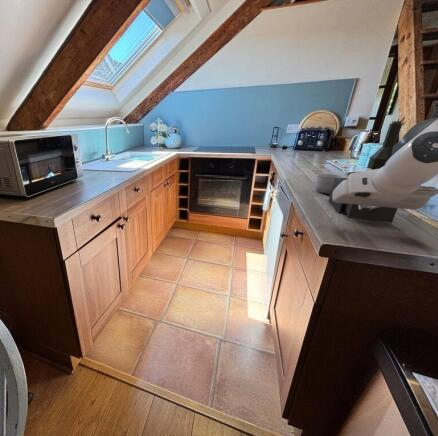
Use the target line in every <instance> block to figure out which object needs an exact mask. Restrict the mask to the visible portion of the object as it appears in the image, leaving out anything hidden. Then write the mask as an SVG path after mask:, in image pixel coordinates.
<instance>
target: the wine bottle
mask: <svg viewBox="0 0 438 436" xmlns="http://www.w3.org/2000/svg"><path fill="white" fill-rule="evenodd" d="M402 126H403V123H402V121H400V120H399V121H398V120H396V121H394V120H392V122H391V123H389V126H388V129H387V131H386V135H385V137H384V140H383V143H382V146H381V147H380V148H378V150H377V151H375V152H374V153H373V154H372V155H371V156H370V157H369V160H368V163H367V166H366V169H365V171H371V170H375V169H380V168H381V167H383V166H385V164H386V162H387V161H388V160H389V158H390V157H391V156H392V150H393V147H394V146H395V145H396V144H397V142H398V141H397V140H398V138H399V135H400V132H401V129H402Z"/></svg>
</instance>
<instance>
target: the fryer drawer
mask: <svg viewBox="0 0 438 436" xmlns="http://www.w3.org/2000/svg"><path fill="white" fill-rule="evenodd" d="M343 209H344V210H345V212H346V213H347V215H346V218H348V219H353V220H364V221H372V222H373V221H374V222H381V223H382V222H383V223H393V221H394V219H395V216H396V213H397V211H398V210H399V208H390V207H379V208H374V209H372V210H371V211H370V210H359V205H356V204H345V203H344V206H343Z"/></svg>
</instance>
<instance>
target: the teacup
mask: <svg viewBox="0 0 438 436" xmlns="http://www.w3.org/2000/svg"><path fill="white" fill-rule="evenodd" d="M335 178H346V179H348V177H347V176H346V175H343V174H334V173H317V174H316V177H315V181H314V188H315V189H316V190H317V192H319V193H322V194H328V195H330V194H331V190H332V187H333V183H334V180H335Z"/></svg>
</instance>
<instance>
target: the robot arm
mask: <svg viewBox="0 0 438 436" xmlns="http://www.w3.org/2000/svg"><path fill="white" fill-rule="evenodd" d="M437 175H438V117H432V118H429V119H425V120H422V121H419V122H417V123H416V124H414V125H413V126H412V127H411V128H409V130H408V131H407V132H406V133H404V135H403V136H402V137H401V138H400V140H398V141H397V142H396V143H395V146H394V147H393V150H392V156H391V157H390V158H389V160H388V161H387V162H386V164H385V166H383V167H381V168H380V169H375V170H371V171H366V170H365V171H357V172H351V173H350V174H349V175H348V177H347V178H348V179H347V180H345V181H343V182H341V183H340V184H339V185H338V186H337V187H336V188H335V189H334V191H333V194H332V199H333V201H334V202H335V203H345V204H356V205H359V210H370V211H371V210H372V209H374V208H379V207H390V208H398V209H402V210H403V209H404V210H418V209H421V208H423V207H424V206H425V205H427V203H429V201H430V200H431V198H433V197H435V196H436V195H438V188H436V187H435V186H427V185H424V184H426V183H428V182H430V181H431V180H432V179H434V178H435V177H436V176H437Z"/></svg>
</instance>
